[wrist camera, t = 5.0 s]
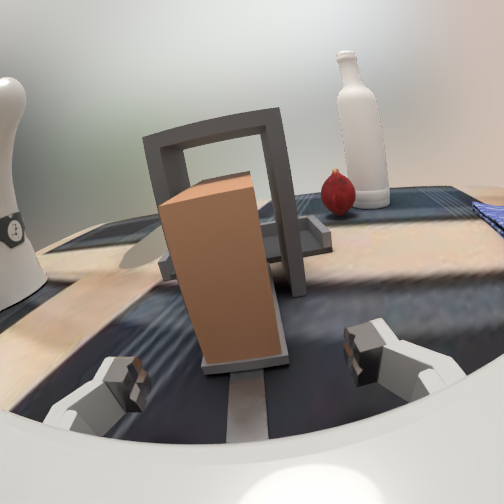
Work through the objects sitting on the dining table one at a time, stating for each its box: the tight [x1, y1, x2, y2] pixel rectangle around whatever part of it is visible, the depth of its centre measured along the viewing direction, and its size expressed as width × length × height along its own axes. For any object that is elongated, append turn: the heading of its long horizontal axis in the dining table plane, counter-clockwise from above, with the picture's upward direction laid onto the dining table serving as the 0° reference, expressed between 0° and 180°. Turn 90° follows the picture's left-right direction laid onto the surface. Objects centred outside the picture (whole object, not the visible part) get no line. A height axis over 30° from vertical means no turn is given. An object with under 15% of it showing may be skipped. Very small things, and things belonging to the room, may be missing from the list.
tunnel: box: [142, 107, 307, 314], centre depth 24 cm, size 10×8×15 cm
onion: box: [321, 169, 356, 216], centre depth 43 cm, size 6×6×8 cm
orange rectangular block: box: [158, 171, 289, 375], centre depth 20 cm, size 5×14×10 cm, turn 1°
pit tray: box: [158, 215, 332, 281], centre depth 35 cm, size 20×9×2 cm, turn 91°
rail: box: [226, 368, 269, 444], centre depth 17 cm, size 2×30×1 cm, turn 1°
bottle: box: [336, 51, 390, 209], centre depth 44 cm, size 8×8×30 cm
